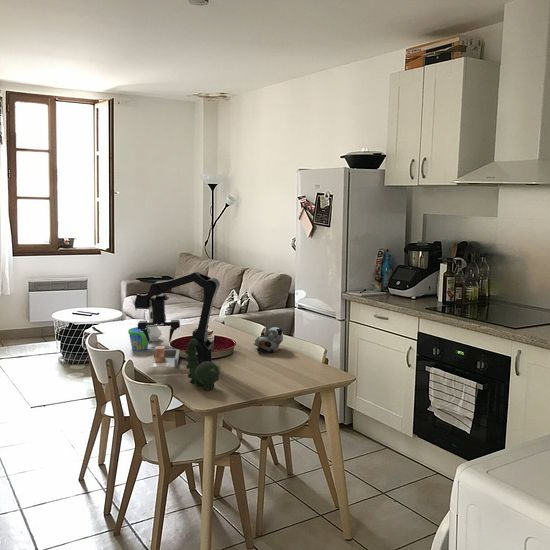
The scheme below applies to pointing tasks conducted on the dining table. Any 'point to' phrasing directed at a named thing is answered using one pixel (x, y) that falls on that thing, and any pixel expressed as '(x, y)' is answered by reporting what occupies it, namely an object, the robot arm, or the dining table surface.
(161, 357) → the terracotta block
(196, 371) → the toy figurine
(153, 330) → the flower vase
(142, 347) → the snack cup
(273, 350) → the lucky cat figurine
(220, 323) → the dining table surface
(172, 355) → the two-wall tray
